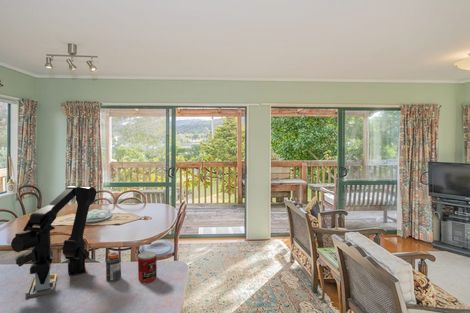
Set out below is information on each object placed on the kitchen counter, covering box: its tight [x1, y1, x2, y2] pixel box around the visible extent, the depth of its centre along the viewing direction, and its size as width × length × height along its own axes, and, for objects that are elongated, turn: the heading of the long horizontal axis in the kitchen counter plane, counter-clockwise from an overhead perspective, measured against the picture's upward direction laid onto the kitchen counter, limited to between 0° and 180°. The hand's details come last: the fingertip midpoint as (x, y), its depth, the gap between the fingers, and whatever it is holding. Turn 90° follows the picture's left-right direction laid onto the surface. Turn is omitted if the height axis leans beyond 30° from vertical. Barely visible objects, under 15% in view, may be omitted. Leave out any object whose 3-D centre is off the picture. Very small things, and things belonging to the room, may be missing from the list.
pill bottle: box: [105, 251, 122, 283], centre depth 126 cm, size 6×6×11 cm
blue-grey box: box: [34, 270, 51, 292], centre depth 116 cm, size 4×4×8 cm
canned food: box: [137, 250, 158, 284], centre depth 126 cm, size 8×8×11 cm
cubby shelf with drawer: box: [25, 273, 58, 299], centre depth 119 cm, size 9×16×2 cm, turn 28°
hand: (43, 281), depth 116 cm, fingers closed on blue-grey box, 4 cm apart
